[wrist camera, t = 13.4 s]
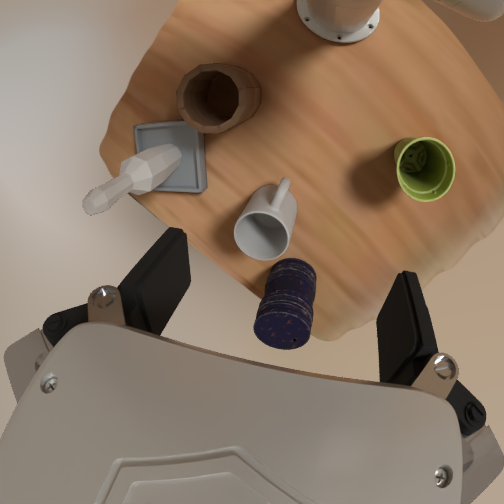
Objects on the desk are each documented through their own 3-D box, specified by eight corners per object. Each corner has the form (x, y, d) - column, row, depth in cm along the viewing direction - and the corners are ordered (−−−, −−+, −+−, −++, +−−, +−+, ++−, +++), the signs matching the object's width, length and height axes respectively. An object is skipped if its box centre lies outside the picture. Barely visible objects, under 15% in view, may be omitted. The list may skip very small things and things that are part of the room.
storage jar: (260, 278, 60) (242, 331, 48) (287, 248, 54) (273, 302, 42) (297, 302, 61) (287, 356, 49) (326, 275, 55) (323, 332, 43)
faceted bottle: (185, 138, 45) (101, 183, 27) (187, 172, 48) (112, 232, 31) (154, 139, 46) (67, 183, 28) (158, 171, 50) (78, 227, 32)
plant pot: (437, 132, 35) (459, 144, 28) (430, 185, 40) (448, 206, 33) (386, 123, 37) (400, 132, 30) (381, 178, 42) (392, 198, 35)
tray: (141, 123, 46) (133, 126, 44) (203, 118, 43) (197, 120, 41) (149, 185, 53) (142, 190, 51) (207, 187, 51) (202, 192, 49)
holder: (201, 69, 38) (175, 68, 31) (260, 66, 36) (246, 61, 29) (203, 124, 44) (179, 134, 37) (260, 124, 42) (246, 133, 35)
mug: (286, 234, 52) (276, 269, 43) (244, 215, 52) (225, 247, 43) (313, 179, 45) (310, 206, 36) (267, 158, 45) (251, 179, 36)
